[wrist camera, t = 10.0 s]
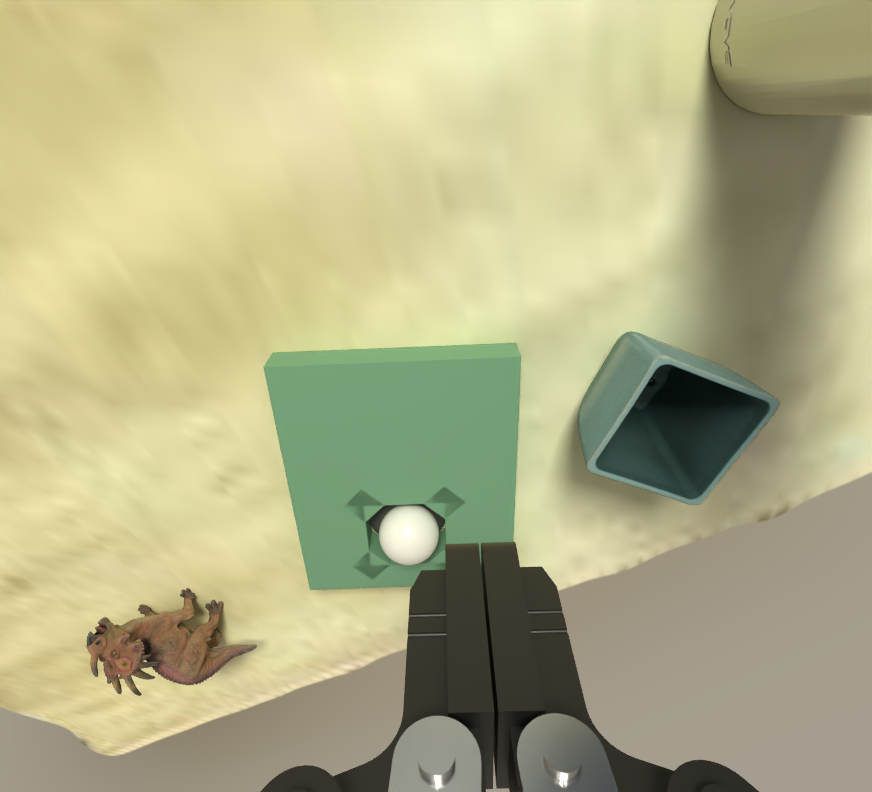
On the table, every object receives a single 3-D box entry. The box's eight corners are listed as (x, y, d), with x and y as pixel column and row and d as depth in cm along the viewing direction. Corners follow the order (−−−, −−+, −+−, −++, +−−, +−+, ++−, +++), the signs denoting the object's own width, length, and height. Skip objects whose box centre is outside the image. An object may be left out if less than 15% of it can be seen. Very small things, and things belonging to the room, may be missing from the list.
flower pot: (650, 437, 43) (700, 509, 35) (554, 403, 42) (583, 471, 34) (713, 343, 40) (785, 402, 32) (610, 303, 38) (659, 353, 30)
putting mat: (515, 343, 39) (521, 356, 37) (507, 561, 50) (511, 582, 47) (272, 352, 39) (263, 367, 37) (315, 568, 50) (310, 589, 47)
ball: (440, 561, 46) (437, 503, 47) (441, 565, 41) (437, 499, 43) (382, 565, 46) (381, 506, 47) (376, 568, 41) (374, 503, 42)
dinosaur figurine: (111, 599, 51) (51, 692, 43) (133, 563, 49) (75, 653, 41) (241, 651, 55) (208, 745, 47) (267, 620, 53) (238, 713, 45)
